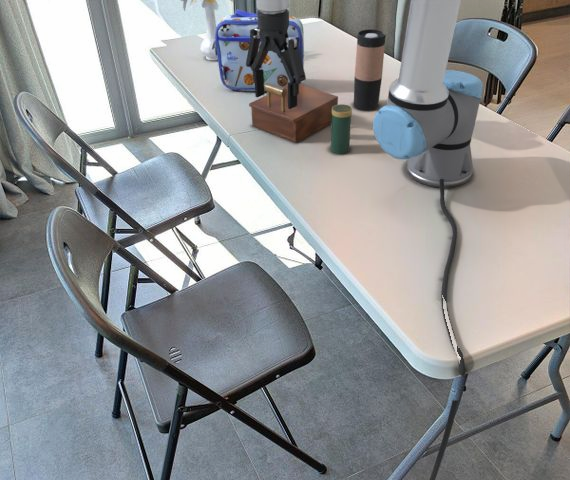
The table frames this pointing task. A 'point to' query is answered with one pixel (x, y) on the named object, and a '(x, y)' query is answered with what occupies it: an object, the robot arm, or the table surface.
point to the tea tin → (340, 128)
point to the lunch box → (234, 51)
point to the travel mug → (368, 69)
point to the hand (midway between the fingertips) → (275, 101)
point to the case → (291, 129)
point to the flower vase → (207, 43)
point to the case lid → (278, 102)
